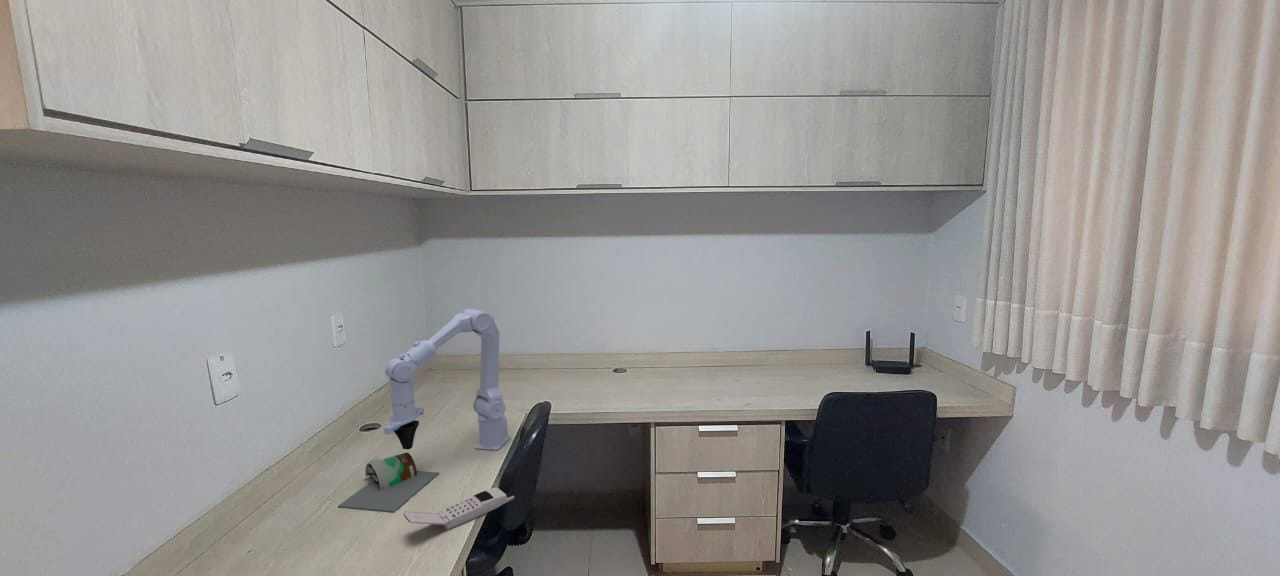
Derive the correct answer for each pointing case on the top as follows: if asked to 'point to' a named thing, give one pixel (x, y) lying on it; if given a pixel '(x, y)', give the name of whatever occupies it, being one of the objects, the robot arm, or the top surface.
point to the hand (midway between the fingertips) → (407, 448)
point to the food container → (391, 470)
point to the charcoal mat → (388, 494)
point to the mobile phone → (462, 509)
